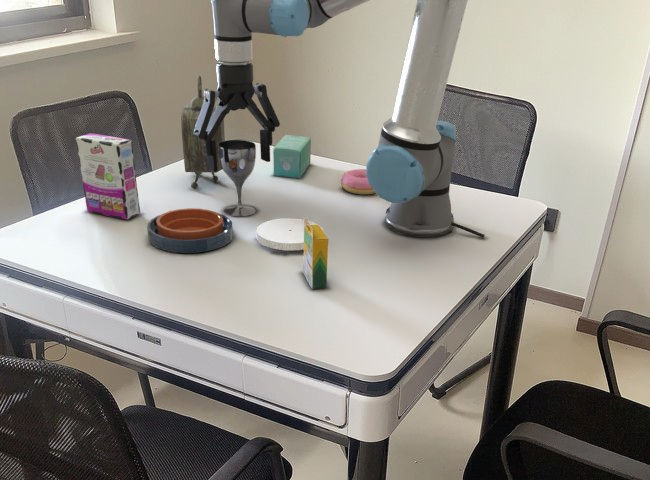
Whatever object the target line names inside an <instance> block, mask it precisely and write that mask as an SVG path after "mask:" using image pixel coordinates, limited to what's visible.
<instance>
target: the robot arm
mask: <svg viewBox="0 0 650 480" xmlns="http://www.w3.org/2000/svg"><path fill="white" fill-rule="evenodd" d="M369 1H370V0H210V3H211V8H212V9H211V10H212V18H213V20H212V21H213V32H214V34H213V35H214V50H215V51H214V52H215V53H214V54H215V60H217V63H216V64H215V69H216V70H215V71H216V81H217V89H209V88H205V89H204V91H203V97H204V102H203V105H202V108H201V111H200V114H199V117H198V120H197V123H196V126H195V129H194V132H193V135H194V136H195V137H197V138H199V139H202V141H203V152H204V155H206V156H207V161H208V169H209V170H211V171H213V172H217V156H216V142H215V140H213V139H212V138H213V136H214V135H215V133H216V131H217V129H218V128H219V126H220V124H221V123H222V121H223V119H224V120H225V118H226V116H227V115H229V114H230V112H231V111H238V110H246V109H247V110H248V112H249V113H250V114H251V115H252V117H253V118H254V119H255V120H256V121H257V122H258V124H259V125H260V126H261V127H262V128H263V129H259V141H260V142H259V145H260V146H259V147H260V160H261V161H264V162H266V163H271V146H272V145H273V132H275V131H276V128H279V127H280V125H281V123H280V120H279V118H278V115H277V114H276V111H275V108H274V107H273V105H272V102H271V100H270V98H269V96H268V91H267V86H266V84H263V83H260V82H256V83H255V85H253V83H254V65H253V63H252V61H253V60H254V55H253V38H252V35H253V33H256V34H258V33H259V34H266V35H274V36H281V37H283V38H286V37H300V36H301V35H303V34H304V32H305V31H306V29H315V28H317V27H320V26H322V25H324V24H325V23H327V22H328V21H329V20H331V19H333V18H334V17H337V16H339V15H341V14H343V13H345V12H348V11H350V10H352V9H354V8H356V7H358V6H360V5H361V6H362V5H363V4H365V3H367V2H369ZM467 4H468V0H417V1H416V4H415V10H414V13H413V17H412V18H413V19H412V25H411V28H410V33H409V38H408V42H407V47H406V51H405V57H404V61H403V65H402V69H401V70H402V71H401V76H400V78H399V79H400V80H399V84H398V89H397V93H396V97H395V103H394V107H393V112H392V115H391V117H390V118H389V119H387V120H385V121H384V122H383V123H382V126H381V131H380V135H379V139H378V145H377V148H375V149H374V150H373V151H372V152H371V154H370V156H369V158H368V160H367V162H366V167H365V169H366V175H367V179H368V182H369V184H370V186H371V187H372V189H373V190H374V192H375V193H374V194H376V196H378V197H379V198H381V199H382V200H384V201H386V202H389V203H390V206H389V207H388V208H386V210H385V226H386V227H387V228H388V229H390V230H391V231H393V232H396V233H397V234H401V235H404V236H409V237H414V238H436V237H441V236H445V235H448V234H450V233H451V232H452V231H453V229H454V227H455V228H457V229H460V230H463V231H465V232H468V233H470V234H473V235H475V236H477V237H479V238H485V234H484V233H482V232H479V231H476V230H474V229H472V228H470V227H467V226H464V225H461V224H459V223H456V222H455V218H454V213H452V205H451V198H450V189H451V188H450V187H451V178H452V171H453V163H454V154H455V146H456V142H457V138H456V137H457V128H456V126H455V124H453V123H452V122H449V121H444V120H439V117H440V116H439V115H440V113H441V108H442V105H443V100H444V95H445V91H446V88H447V84H448V81H449V76H450V72H451V68H452V64H453V60H454V57H455V53H456V49H457V44H458V40H459V36H460V32H461V30H462V29H461V28H462V24H463V20H464V17H465V14H466V13H465V12H466V8H467ZM254 94H255V95H256V98H257V99H258V102H259V104H260V106H261V108H262V111H263V112H264V113H263V112H262V111H261V109H260V108H259V107H258V105H257V103H256V102H255V101H254V100H253V97H254ZM218 99H219V101H218ZM216 101H218V103H217V104H216ZM215 104H216V110H215V112H214V114H213V115H212V117H211V114H212V111H213V108H214V106H215ZM210 117H211V119H210ZM217 173H218V172H217Z"/></svg>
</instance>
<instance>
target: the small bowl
mask: <svg viewBox="0 0 650 480" xmlns="http://www.w3.org/2000/svg"><path fill="white" fill-rule="evenodd" d="M218 213H219V212H216V211H213V210H210V209H204V208H194V207H193V208H192V207H191V208H190V207H189V208H179V209H178V208H177V209H173V210H169V211H167V212H165V213H161V214H162V215H161V214H159V215H160V216H159V215H158V216H159V217H158V218H157V220H156V226H157V234H158V235H161V236H164V237H168V238H173V239H201V238H207V237H211V236H215V235H218V234H220V233H223V232H224V225H223V218H222V216H221V215H220V214H221V213H219V214H218Z"/></svg>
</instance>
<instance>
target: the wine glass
mask: <svg viewBox="0 0 650 480" xmlns="http://www.w3.org/2000/svg"><path fill="white" fill-rule="evenodd" d="M256 148H257V146H256V143H255V142H253V141H250V140H246V139H245V140H244V139H229V140H225V141H223V142H221V143H220V144H219V155H220V161H221V165H222V168H223V169H222V171H223V172H224V173H225V175H226V176H227V177H228V179H230V180H231V181H232V182H233V185H234V186H235V189H236V195H237V205H230V206H227V207H226V208H225V209H224V210H223V211H224V213H225V214H226V215H228V216H231V217H248V216H252V215H254V214H256V212H257V210H256V209H255V208H254V207H252V206H250V205H242V191H243V186H244V183H246V180H247V179H248V178H249V177H250V176H251V175H252V174H253V172H254V168H255V164H256V158H257V157H256V156H257V149H256Z"/></svg>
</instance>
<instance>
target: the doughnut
mask: <svg viewBox="0 0 650 480" xmlns="http://www.w3.org/2000/svg"><path fill="white" fill-rule="evenodd" d="M340 182H341V186H342V188H343V189H344V190H345V191H347V192H349V193H352V194H355V195H373V194H376V193H375V192H374V190H373V189H372V187H371V186H370V184H369V182H368V179H367V175H366V168H365V169H364V168H357V169H351V170H347V171H345V172H344V173H343V174H342V176H341V178H340Z"/></svg>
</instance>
